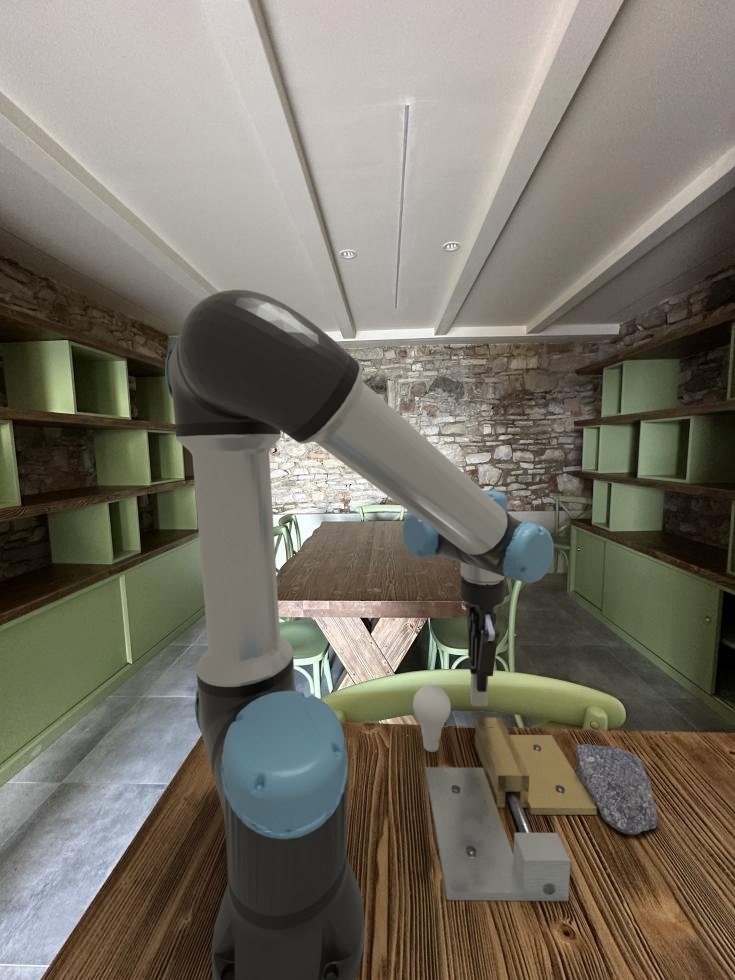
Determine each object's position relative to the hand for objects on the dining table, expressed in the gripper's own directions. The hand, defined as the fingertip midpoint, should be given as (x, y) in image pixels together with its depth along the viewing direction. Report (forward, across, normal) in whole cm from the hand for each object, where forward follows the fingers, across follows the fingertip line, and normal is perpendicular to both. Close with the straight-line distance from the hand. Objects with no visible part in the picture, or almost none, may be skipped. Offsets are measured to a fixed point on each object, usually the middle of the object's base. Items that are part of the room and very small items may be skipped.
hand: (478, 703), depth 73 cm
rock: (+4, -16, -16) cm, 23 cm away
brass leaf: (+3, -12, -5) cm, 13 cm away
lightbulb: (+4, -7, +10) cm, 13 cm away
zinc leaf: (+4, -17, +5) cm, 18 cm away
